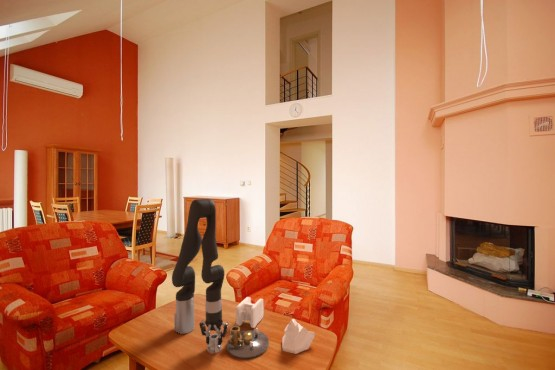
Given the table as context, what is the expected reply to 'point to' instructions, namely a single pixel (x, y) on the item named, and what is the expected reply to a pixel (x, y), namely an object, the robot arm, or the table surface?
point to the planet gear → (213, 344)
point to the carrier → (249, 345)
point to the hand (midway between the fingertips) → (214, 344)
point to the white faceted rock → (296, 338)
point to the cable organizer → (249, 312)
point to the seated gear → (235, 335)
